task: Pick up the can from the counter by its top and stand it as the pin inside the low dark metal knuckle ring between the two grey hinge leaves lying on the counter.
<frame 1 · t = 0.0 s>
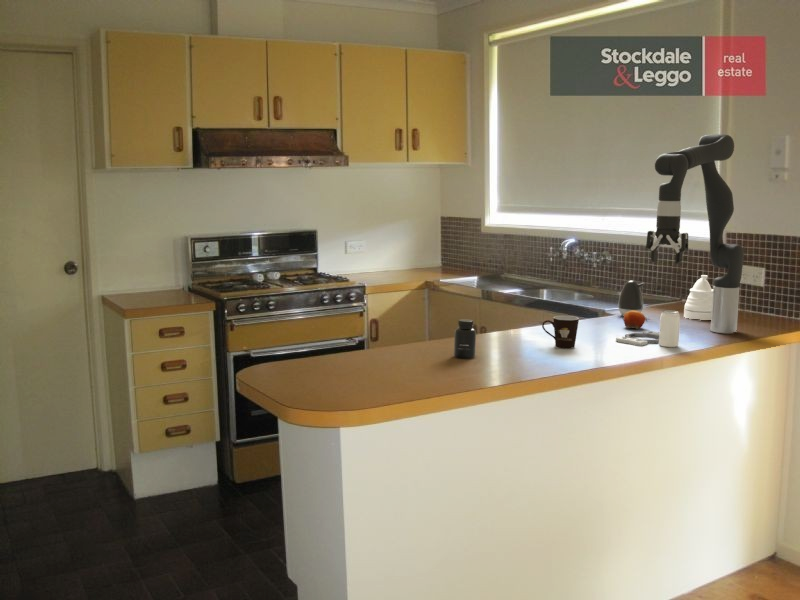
hand: (666, 262, 284), 29 cm above the table, tool pointing down, fingers open, 8 cm apart
supplement bottle: (464, 357, 272), on the table
can: (668, 346, 292), on the table
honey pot: (700, 318, 349), on the table
hinge: (644, 339, 302), on the table
pump dispenser: (630, 316, 352), on the table
fruit: (633, 328, 325), on the table
coffee mug: (561, 346, 290), on the table
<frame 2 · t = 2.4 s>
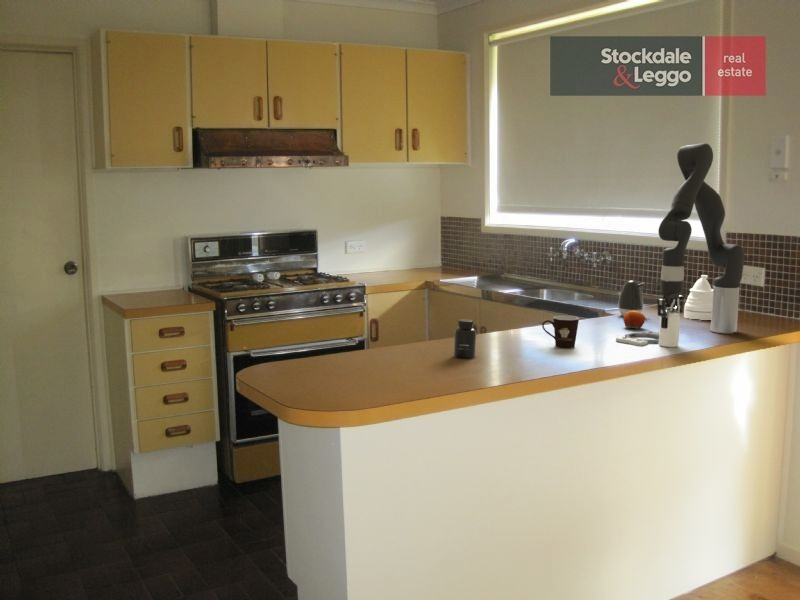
hand: (669, 326, 291), 7 cm above the table, tool pointing down, fingers closed on can, 6 cm apart
can: (668, 346, 292), on the table, touching gripper
everything else where it was.
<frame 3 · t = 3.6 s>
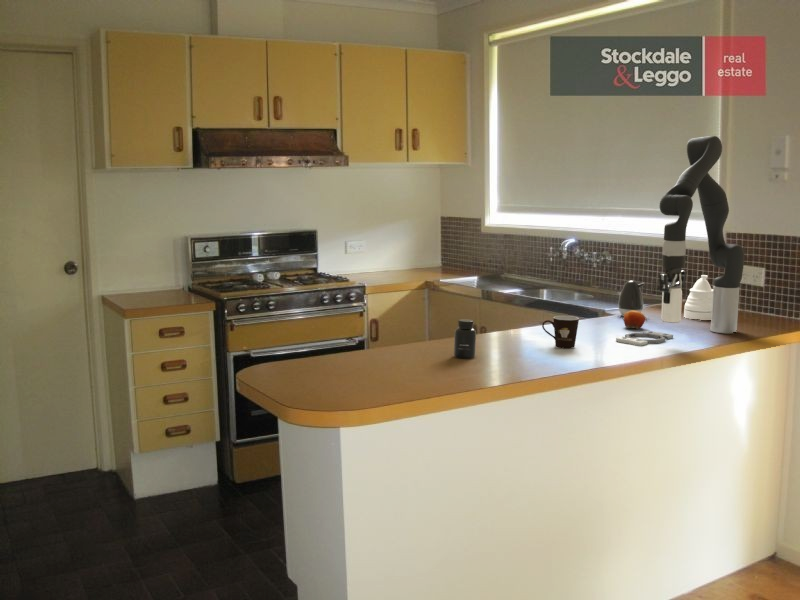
hand: (671, 302, 290), 15 cm above the table, tool pointing down, fingers closed on can, 6 cm apart
can: (670, 321, 291), point 8 cm above the table, touching gripper
everything else where it was.
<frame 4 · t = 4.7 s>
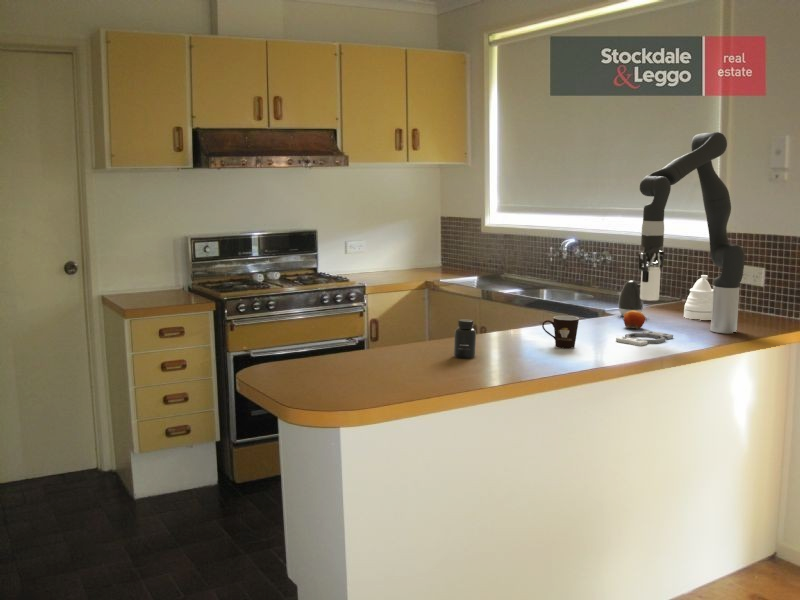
hand: (650, 281, 298), 21 cm above the table, tool pointing down, fingers closed on can, 6 cm apart
can: (649, 300, 299), point 15 cm above the table, touching gripper
everything else where it was.
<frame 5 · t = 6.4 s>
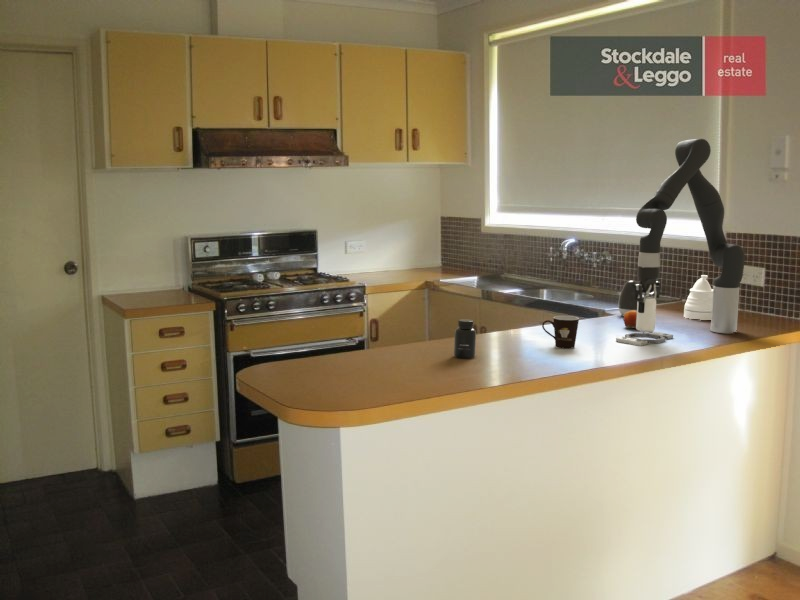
hand: (646, 311, 301), 10 cm above the table, tool pointing down, fingers closed on can, 6 cm apart
can: (645, 330, 302), point 3 cm above the table, touching gripper
everything else where it was.
when the fingers open (7 cm above the table, at t = 7.4 s): can stays where it is, resting in hinge.
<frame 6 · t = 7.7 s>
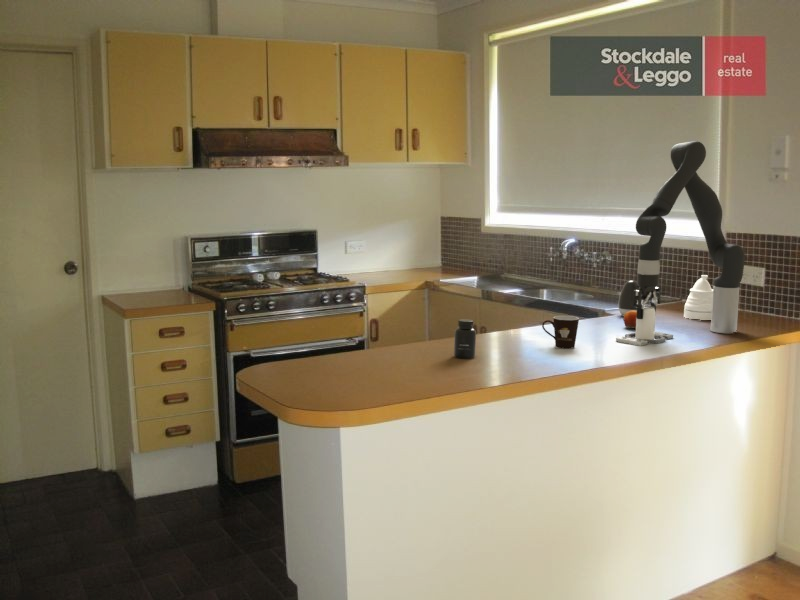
hand: (646, 317, 301), 8 cm above the table, tool pointing down, fingers open, 8 cm apart
can: (644, 340, 302), resting in hinge
everything else where it was.
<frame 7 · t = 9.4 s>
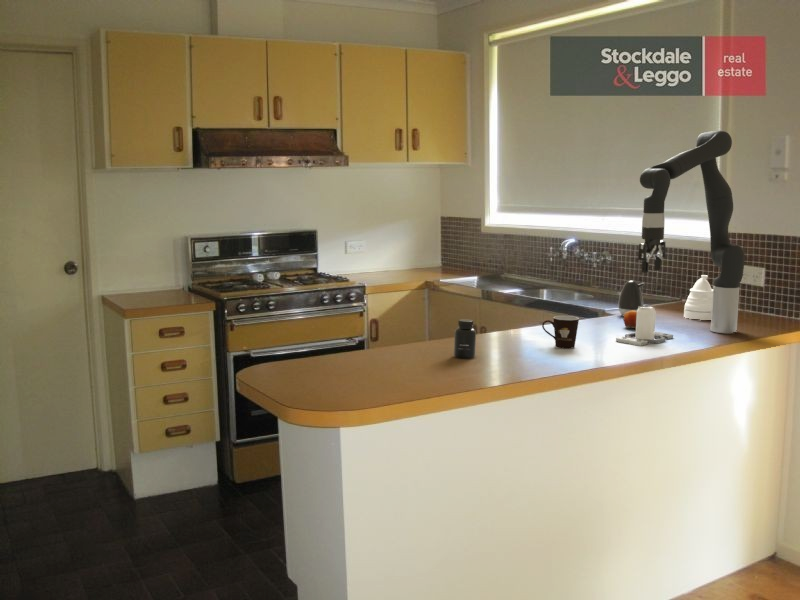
hand: (651, 271, 300), 25 cm above the table, tool pointing down, fingers open, 8 cm apart
nothing on the table moved.
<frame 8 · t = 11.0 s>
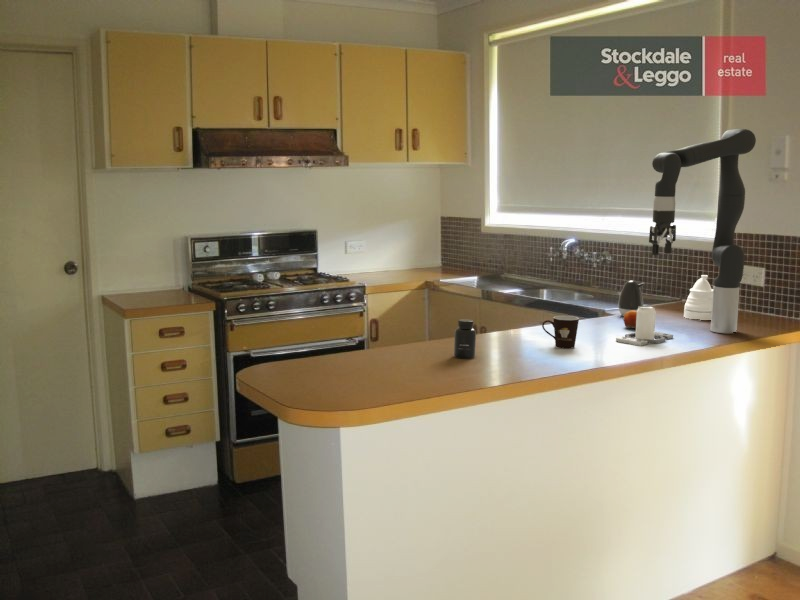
hand: (661, 254, 305), 30 cm above the table, tool pointing down, fingers open, 8 cm apart
nothing on the table moved.
at the end: can 0.4 cm from the hinge (horizontally); can tilted 0°; the gripper is holding nothing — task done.
